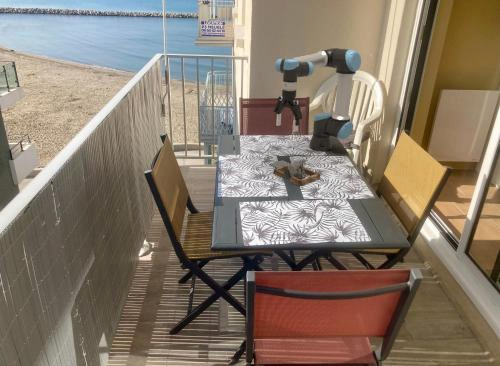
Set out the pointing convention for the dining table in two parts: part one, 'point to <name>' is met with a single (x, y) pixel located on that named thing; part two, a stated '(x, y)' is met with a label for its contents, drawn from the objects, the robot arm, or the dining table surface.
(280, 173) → the frame
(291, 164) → the stone
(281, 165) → the slate coaster
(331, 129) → the robot arm
